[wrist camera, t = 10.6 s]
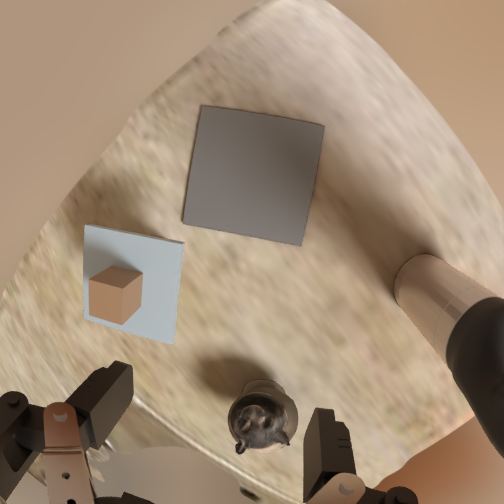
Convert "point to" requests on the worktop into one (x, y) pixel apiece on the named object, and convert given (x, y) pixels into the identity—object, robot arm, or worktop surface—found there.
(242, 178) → the mat
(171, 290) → the lid
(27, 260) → the worktop surface
